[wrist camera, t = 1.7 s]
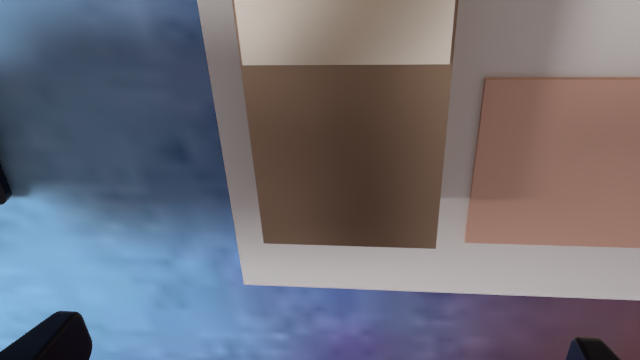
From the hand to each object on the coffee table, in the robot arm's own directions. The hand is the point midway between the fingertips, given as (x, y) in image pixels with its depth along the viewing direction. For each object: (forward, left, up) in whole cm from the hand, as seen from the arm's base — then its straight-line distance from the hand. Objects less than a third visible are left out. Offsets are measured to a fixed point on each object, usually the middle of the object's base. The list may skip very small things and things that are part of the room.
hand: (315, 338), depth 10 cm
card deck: (0, 0, -11) cm, 11 cm away
